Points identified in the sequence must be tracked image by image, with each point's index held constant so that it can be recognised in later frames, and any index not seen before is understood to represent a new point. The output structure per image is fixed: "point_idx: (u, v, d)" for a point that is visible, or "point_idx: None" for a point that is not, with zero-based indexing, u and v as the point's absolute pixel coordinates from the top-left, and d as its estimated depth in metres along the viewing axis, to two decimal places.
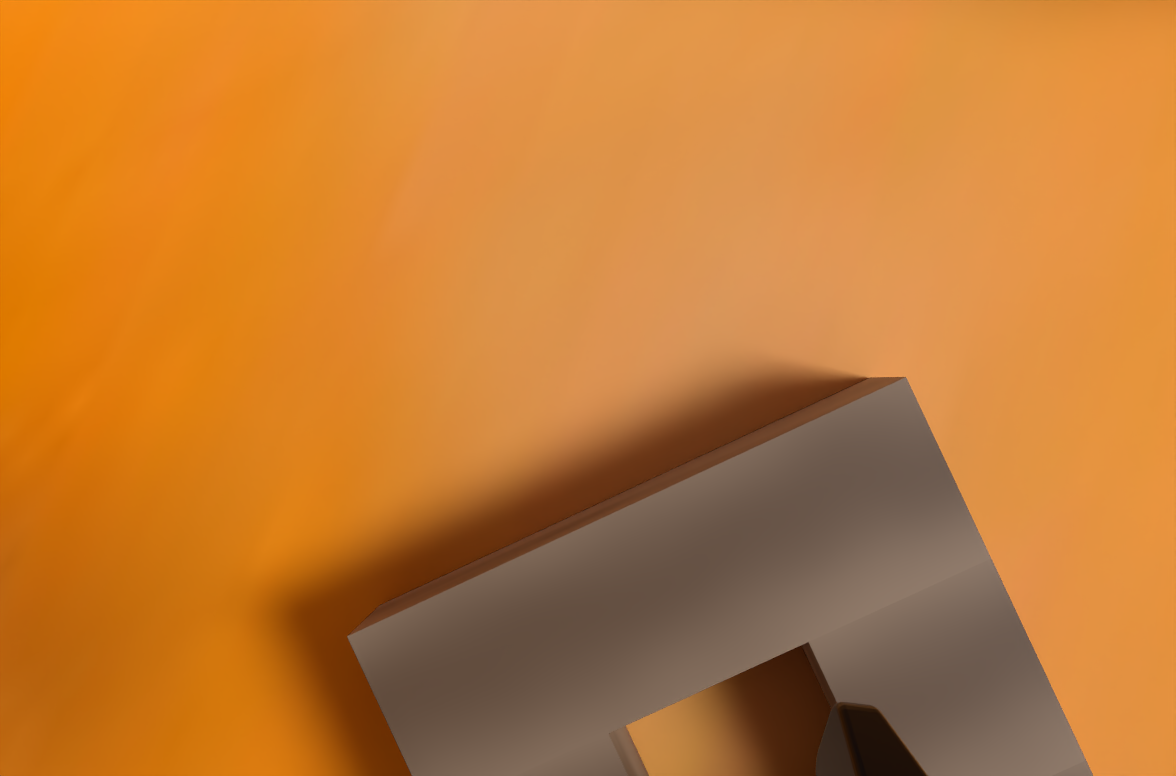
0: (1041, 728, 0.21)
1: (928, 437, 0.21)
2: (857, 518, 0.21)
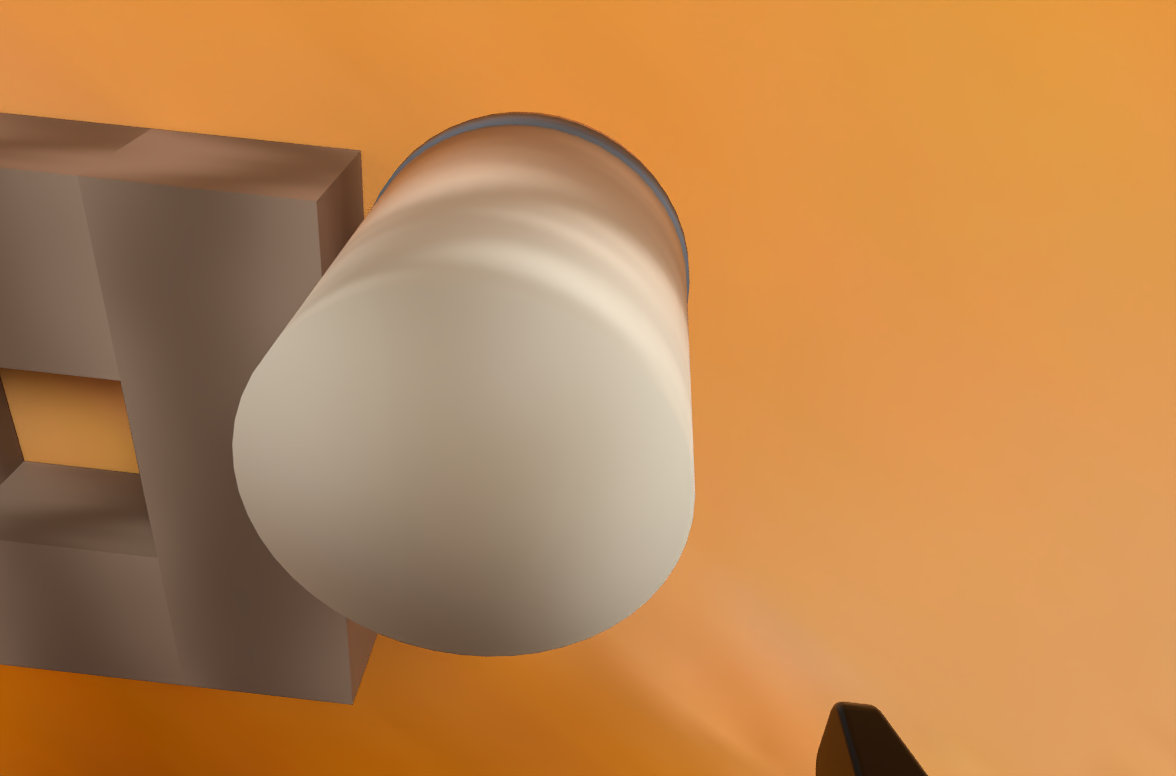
0: (29, 201, 0.18)
1: None
2: None
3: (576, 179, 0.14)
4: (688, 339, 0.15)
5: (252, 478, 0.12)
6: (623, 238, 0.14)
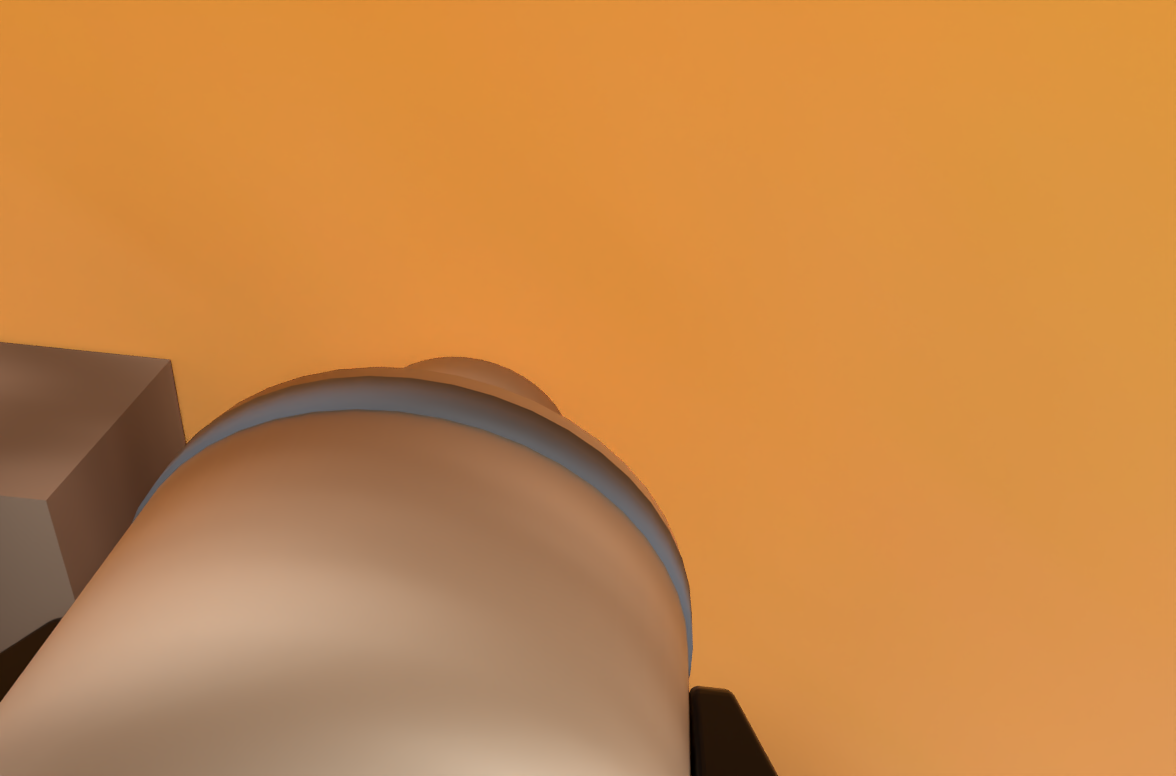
0: None
1: None
2: None
3: (458, 590, 0.07)
4: None
5: None
6: (548, 770, 0.06)
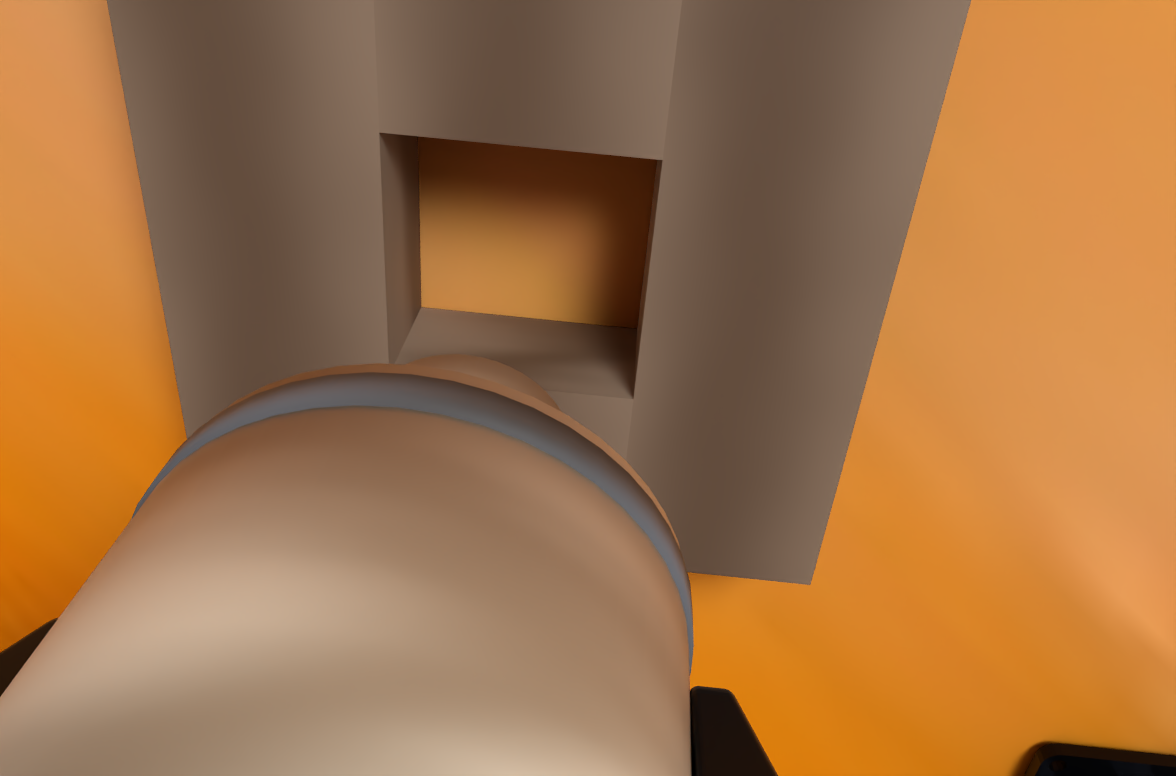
0: None
1: None
2: None
3: (457, 585, 0.07)
4: None
5: None
6: (549, 766, 0.06)
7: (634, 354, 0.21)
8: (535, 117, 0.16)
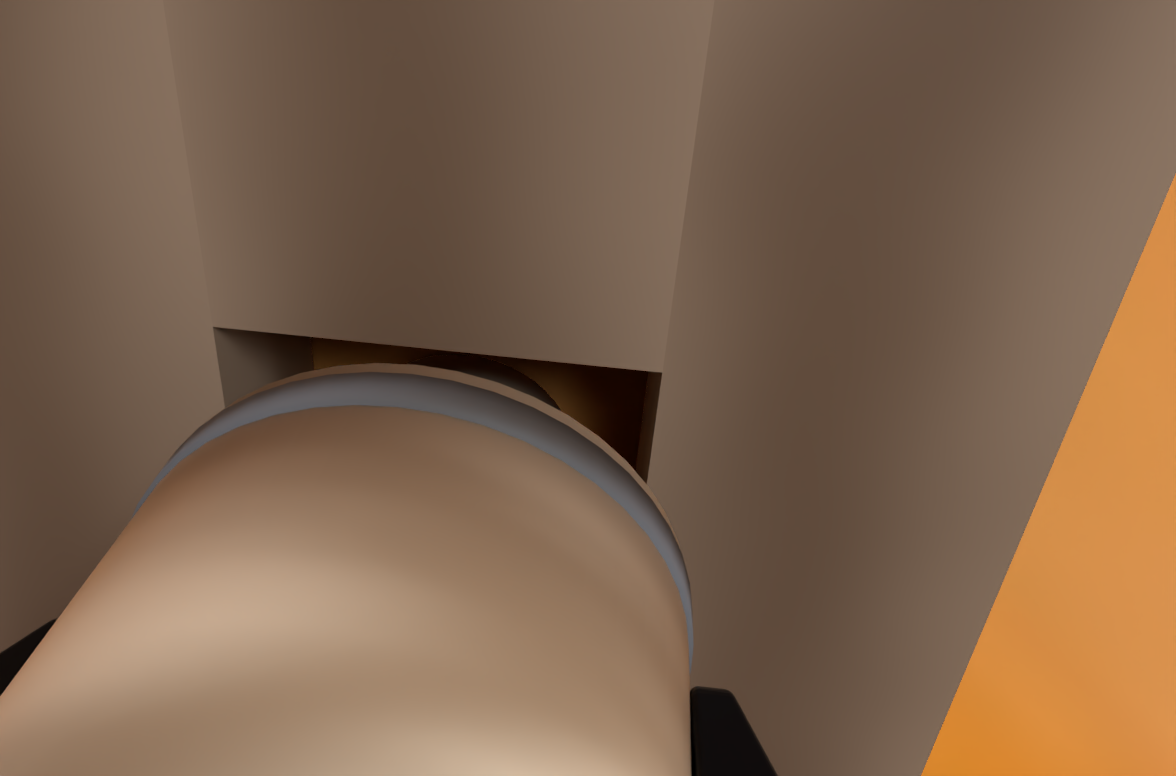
0: None
1: None
2: None
3: (457, 585, 0.07)
4: None
5: None
6: (549, 764, 0.06)
7: None
8: (458, 309, 0.10)
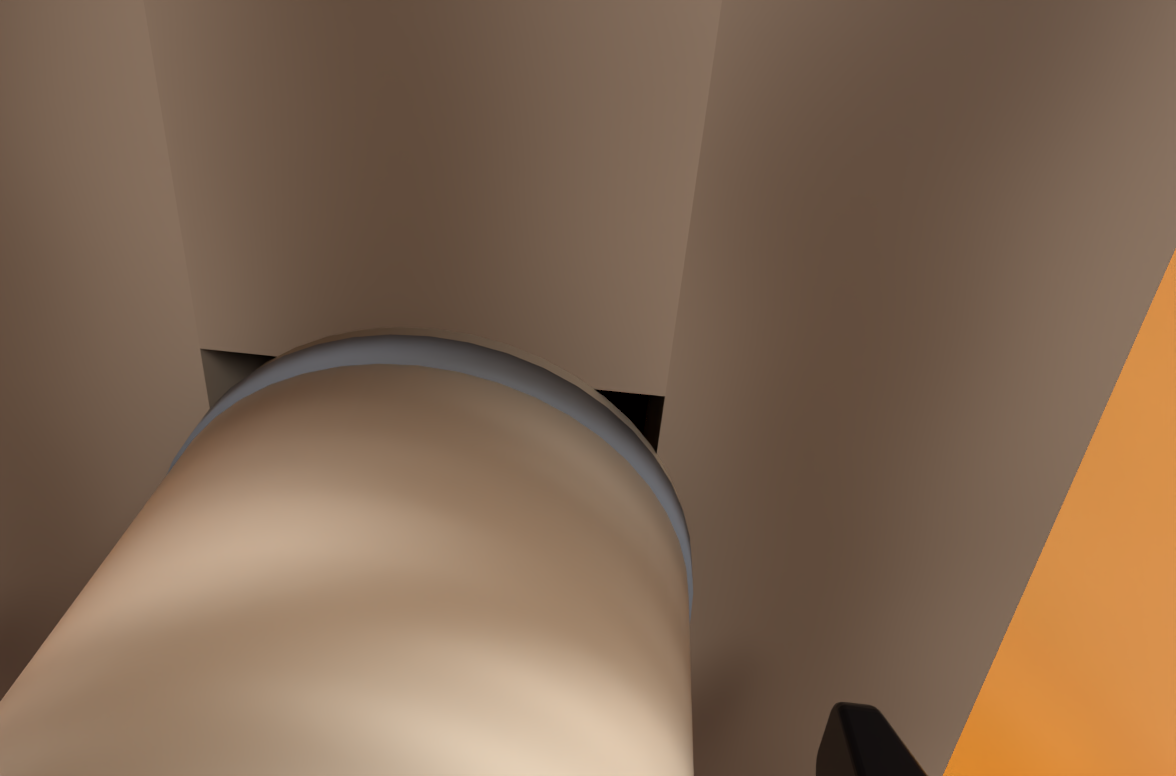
0: None
1: None
2: None
3: (477, 519, 0.08)
4: None
5: None
6: (562, 675, 0.07)
7: None
8: (453, 330, 0.10)
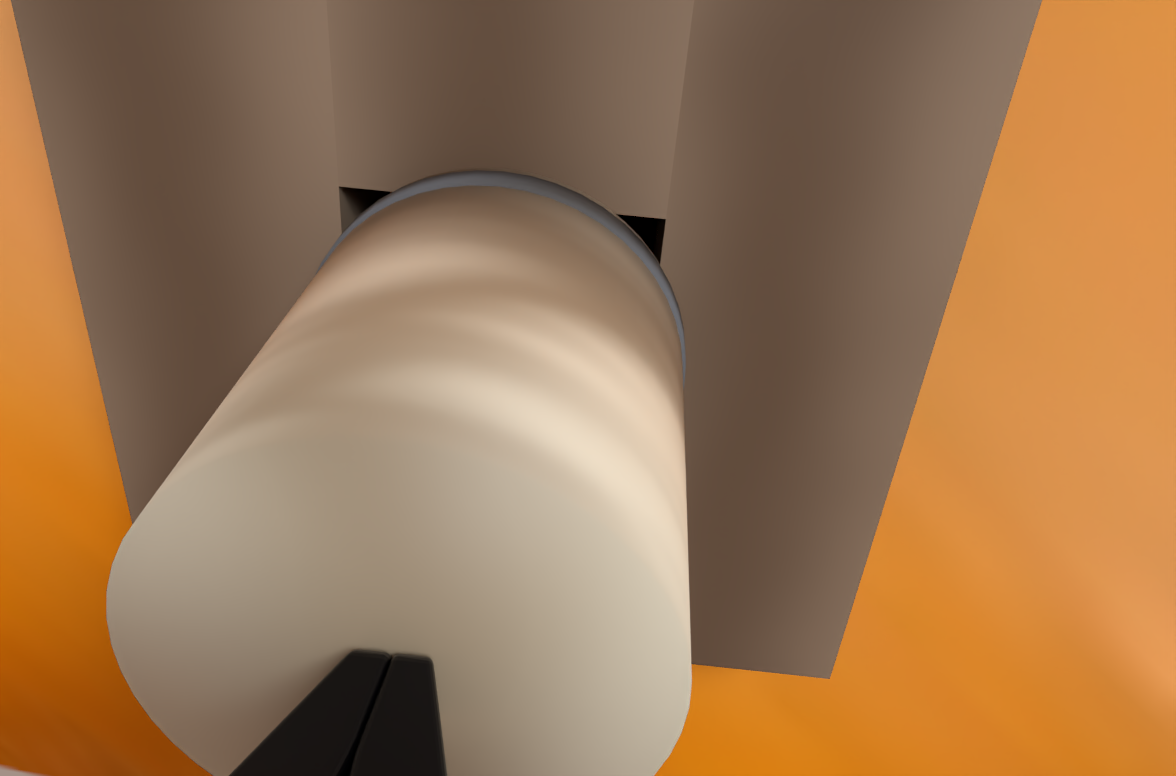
0: None
1: None
2: (183, 23, 0.13)
3: (546, 260, 0.12)
4: (684, 448, 0.12)
5: (134, 656, 0.10)
6: (603, 338, 0.11)
7: None
8: (518, 170, 0.14)
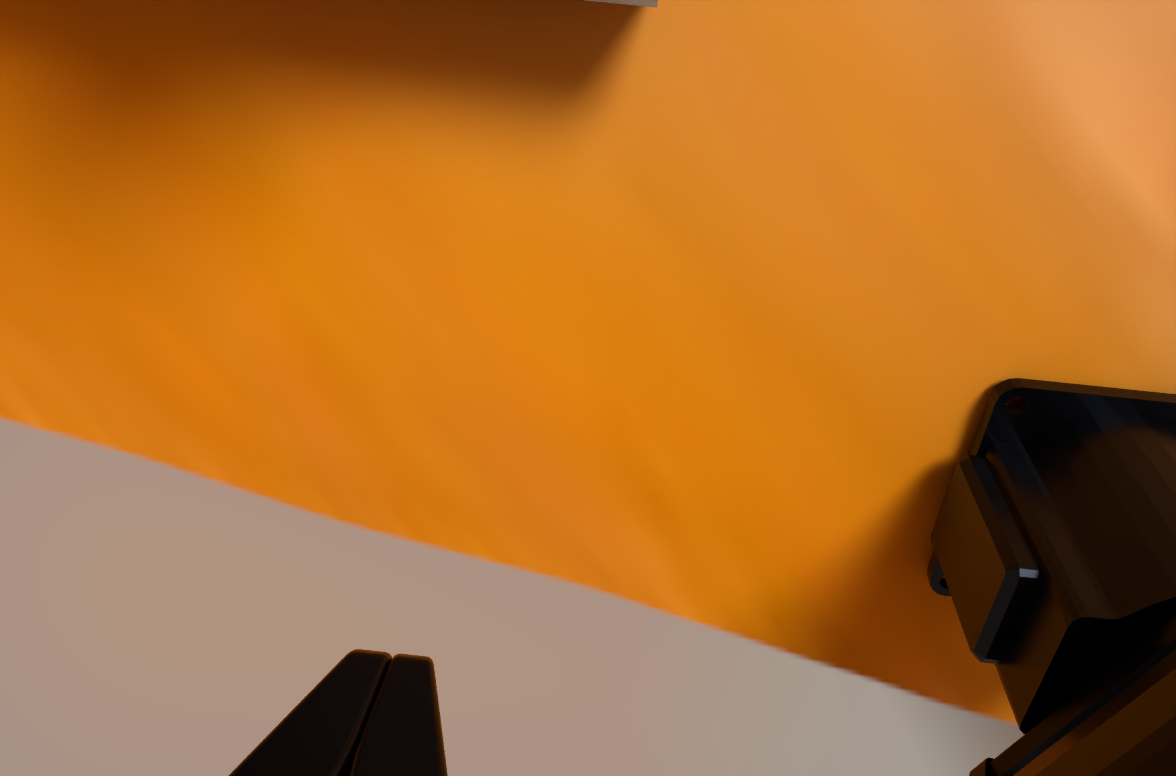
0: None
1: None
2: None
3: None
4: None
5: None
6: None
7: None
8: None
